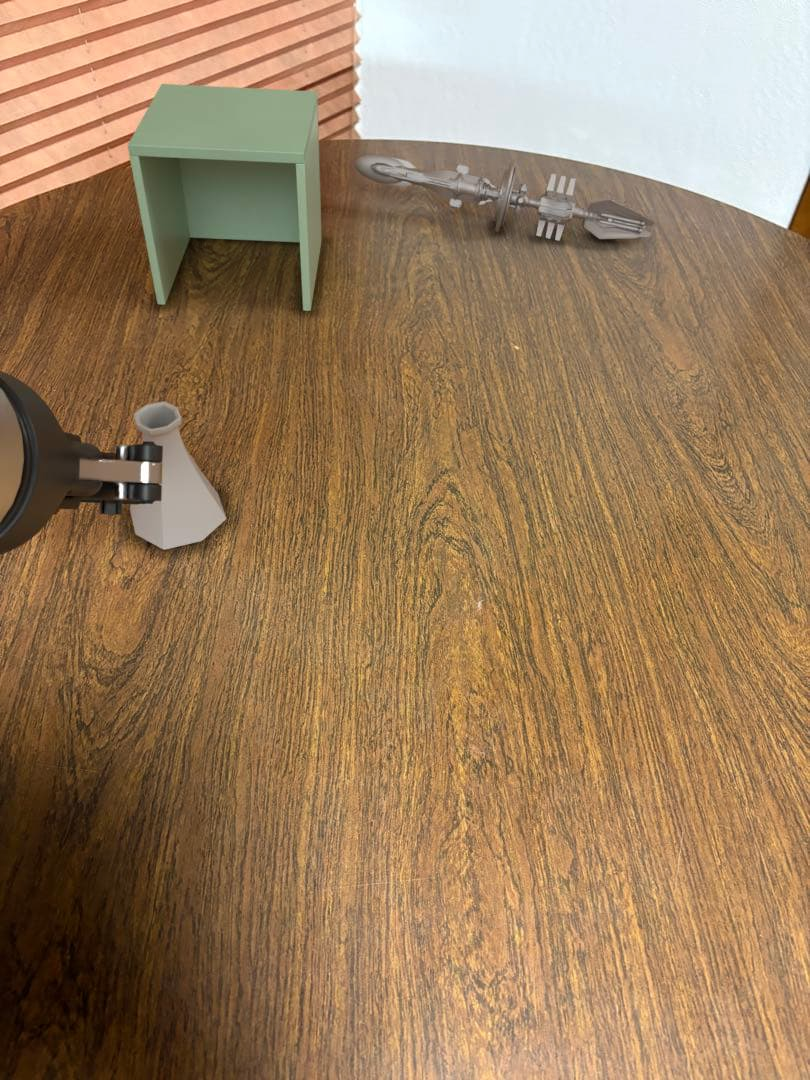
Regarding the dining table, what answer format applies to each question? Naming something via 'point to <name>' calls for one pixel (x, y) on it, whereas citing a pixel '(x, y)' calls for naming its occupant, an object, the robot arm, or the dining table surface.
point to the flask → (175, 486)
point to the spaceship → (511, 197)
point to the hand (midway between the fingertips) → (127, 482)
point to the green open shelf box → (228, 173)
